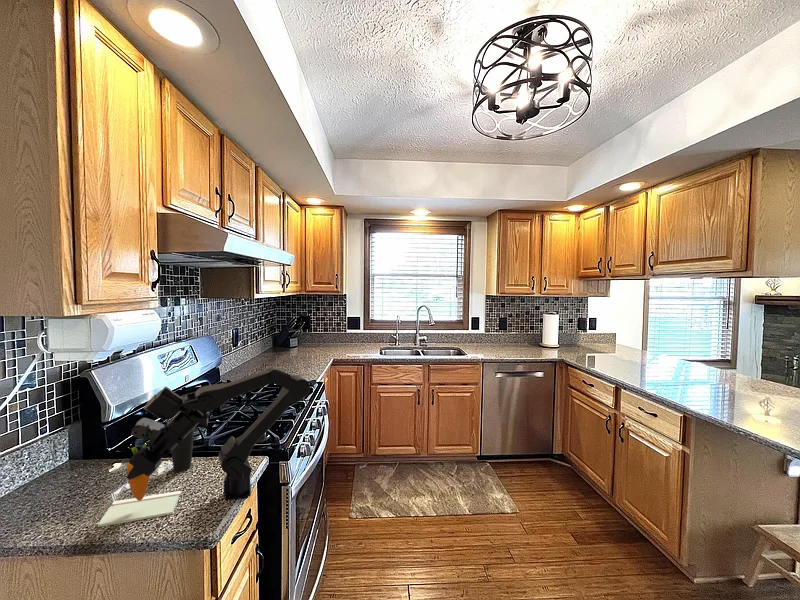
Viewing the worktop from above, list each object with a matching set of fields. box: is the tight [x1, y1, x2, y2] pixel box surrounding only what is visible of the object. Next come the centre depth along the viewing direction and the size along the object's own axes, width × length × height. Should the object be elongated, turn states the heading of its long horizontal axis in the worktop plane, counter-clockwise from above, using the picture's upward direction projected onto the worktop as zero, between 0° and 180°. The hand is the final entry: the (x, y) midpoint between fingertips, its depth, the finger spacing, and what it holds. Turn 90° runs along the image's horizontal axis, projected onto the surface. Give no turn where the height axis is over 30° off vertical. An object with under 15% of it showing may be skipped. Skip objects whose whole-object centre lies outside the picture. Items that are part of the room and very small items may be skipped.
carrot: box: [127, 443, 150, 502], centre depth 97 cm, size 5×5×15 cm
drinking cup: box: [170, 428, 195, 473], centre depth 119 cm, size 8×8×20 cm
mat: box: [97, 495, 180, 528], centre depth 97 cm, size 16×8×1 cm, turn 110°
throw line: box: [111, 490, 182, 506], centre depth 103 cm, size 16×2×1 cm, turn 110°
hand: (133, 473), depth 96 cm, fingers closed on carrot, 5 cm apart
